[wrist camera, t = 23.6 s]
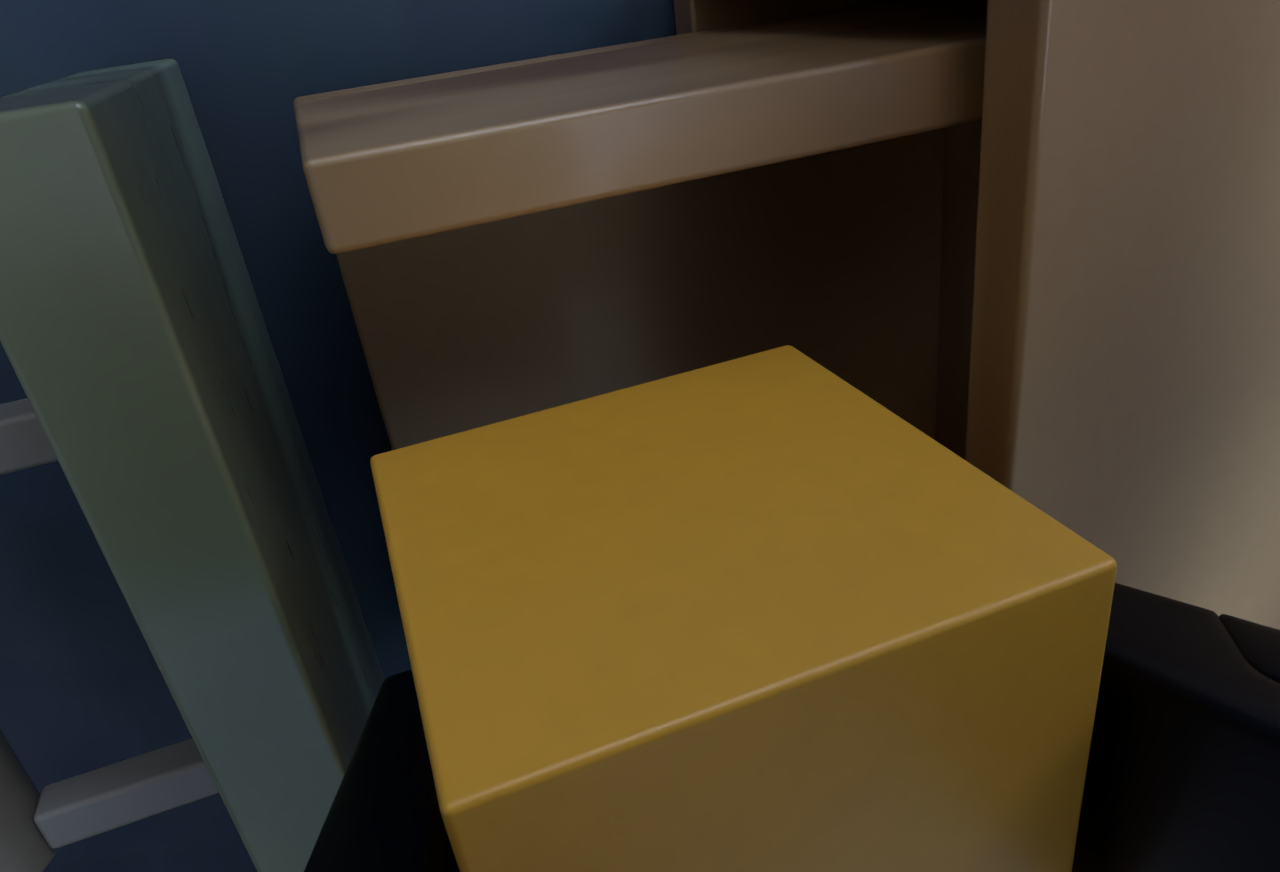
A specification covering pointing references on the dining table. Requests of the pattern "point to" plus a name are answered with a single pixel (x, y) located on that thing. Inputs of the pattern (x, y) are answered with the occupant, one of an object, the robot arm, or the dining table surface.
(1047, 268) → the cabinet
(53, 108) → the drawer
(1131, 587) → the robot arm
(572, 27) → the dining table surface
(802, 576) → the block
